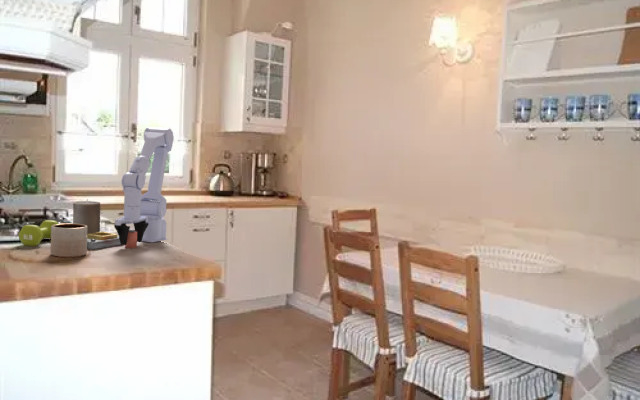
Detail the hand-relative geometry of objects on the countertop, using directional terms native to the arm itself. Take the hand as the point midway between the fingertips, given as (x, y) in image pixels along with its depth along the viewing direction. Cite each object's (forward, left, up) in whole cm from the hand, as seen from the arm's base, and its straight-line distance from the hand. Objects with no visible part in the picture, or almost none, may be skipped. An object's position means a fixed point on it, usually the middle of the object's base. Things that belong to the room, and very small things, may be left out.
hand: (131, 243), depth 199 cm
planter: (+23, -5, -2) cm, 24 cm away
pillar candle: (-2, -24, -2) cm, 24 cm away
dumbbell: (+15, -28, -2) cm, 32 cm away
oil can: (0, 0, -1) cm, 1 cm away
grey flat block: (+6, -11, -1) cm, 13 cm away
